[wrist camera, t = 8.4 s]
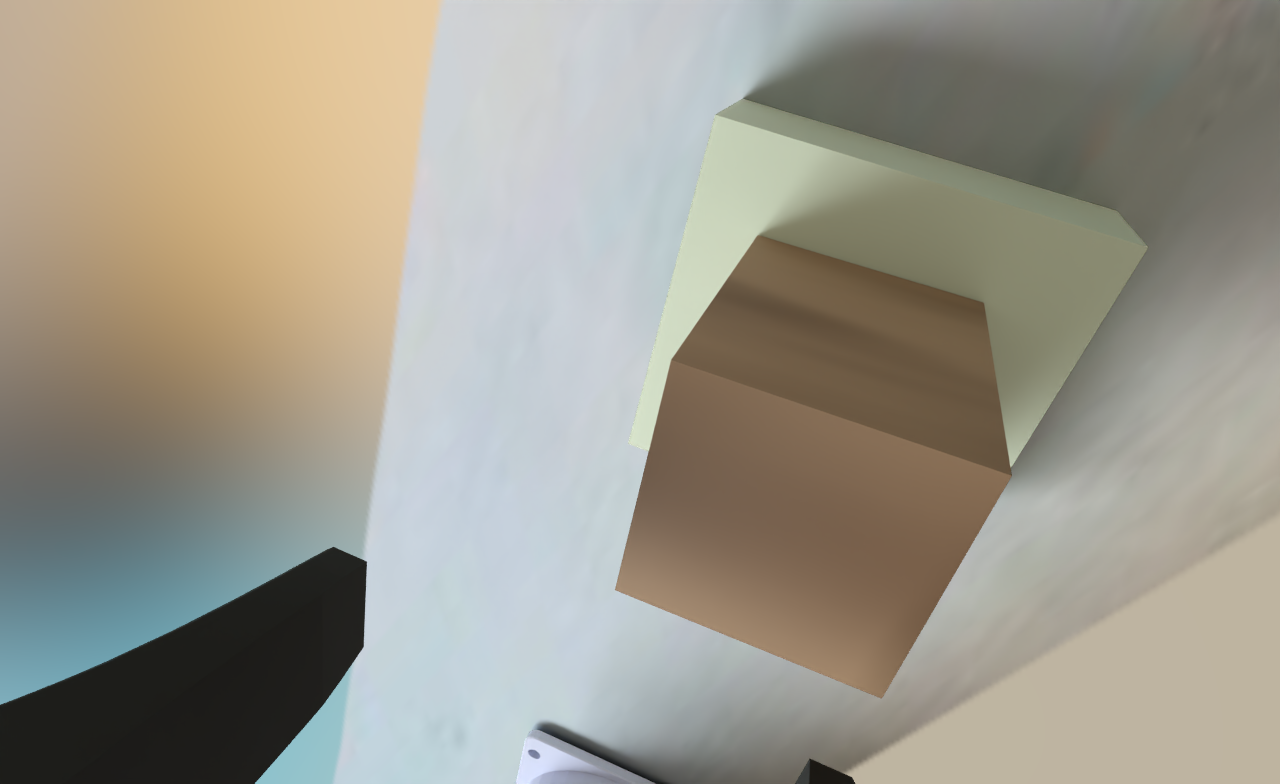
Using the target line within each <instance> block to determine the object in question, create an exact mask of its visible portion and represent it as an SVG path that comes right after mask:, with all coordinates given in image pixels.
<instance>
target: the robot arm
mask: <svg viewBox="0 0 1280 784" xmlns="http://www.w3.org/2000/svg"><path fill="white" fill-rule="evenodd" d="M366 570H367V562H366V561H364V560H362V559H360V558H357V557H355V556H353V555H350V554H348V553H346V552H344V551H341V550H339V549H337V548H335V547H332V548H330V549H327V550H325V551H324V552H322V553H320V554H318V555H316V556H314V557H312V558H310V559H309V560H307V561H305V562H303V563H301V564H299V565H298V566H296V567H294V568H292V569H290V570H288V571H287V572H285V573H283V574H281V575H279V576H277V577H275V578H274V579H272V580H270V581H268V582H266V583H264V584H262V585H261V586H259V587H257V588H255V589H253V590H251V591H249V592H247V593H246V594H244V595H242V596H240V597H238V598H236V599H234V600H232V601H231V602H228V603H226V604H224V605H222V606H221V607H219V608H217V609H215V610H213V611H211V612H209V613H207V614H205V615H203V616H201V617H199V618H197V619H195V620H193V621H191V622H189V623H187V624H185V625H183V626H181V627H179V628H177V629H175V630H173V631H171V632H169V633H167V634H165V635H163V636H160V637H158V638H156V639H154V640H152V641H150V642H147V643H145V644H143V645H141V646H139V647H137V648H135V649H132V650H131V651H128V652H126V653H124V654H122V655H119V656H117V657H115V658H113V659H111V660H109V661H107V662H104V663H102V664H100V665H97V666H95V667H93V668H90V669H88V670H86V671H84V672H81V673H79V674H77V675H74V676H72V677H69V678H67V679H65V680H62V681H60V682H57V683H55V684H53V685H50V686H47V687H45V688H42V689H40V690H37V691H35V692H32V693H30V694H27V695H25V696H22V697H20V698H17V699H14V700H12V701H9V702H7V703H4V704H1V705H0V784H255V782H256V781H257V780H258V779H259V778H260V777H261V776H262V775H263V773H264V772H265V771H266V770H267V769H268V768H269V767H270V765H271V764H272V763H273V762H274V761H275V760H276V759H277V758H278V756H279V755H280V754H281V753H282V752H283V751H284V750H285V748H286V747H287V746H288V745H289V744H290V743H291V742H292V740H293V739H294V738H295V737H296V736H297V735H298V733H299V732H300V731H301V730H302V729H303V728H304V727H305V725H306V724H307V723H308V722H309V721H310V720H311V719H312V717H313V716H314V715H315V714H316V713H317V712H318V710H319V709H320V708H321V707H322V706H323V704H324V703H325V702H326V700H327V699H328V697H329V696H330V695H331V693H332V692H333V690H334V689H335V688H336V686H337V685H338V683H339V682H340V681H341V679H342V678H343V676H344V675H345V673H346V672H347V671H348V669H349V668H350V666H351V665H352V663H353V662H354V660H355V659H356V657H357V656H358V654H359V653H360V651H361V650H362V649H363V647H364V621H365V596H366ZM516 784H656V783H653V782H651V781H649V780H647V779H645V778H642V777H640V776H638V775H636V774H634V773H632V772H629V771H627V770H625V769H623V768H621V767H619V766H616V765H614V764H612V763H610V762H608V761H605V760H603V759H601V758H599V757H597V756H595V755H592V754H590V753H588V752H586V751H584V750H581V749H579V748H577V747H575V746H573V745H571V744H568V743H566V742H564V741H562V740H560V739H557V738H555V737H553V736H551V735H549V734H547V733H544V732H542V731H539V730H532V731H530V732H529V734H528V735H527V737H526V739H525V742H524V747H523V752H522V756H521V761H520V766H519V770H518V775H517V780H516ZM795 784H855V782H854V780H853V778H852V777H850V776H848V775H845V774H843V773H841V772H839V771H836V770H834V769H832V768H830V767H827V766H825V765H823V764H821V763H818V762H816V761H814V760H812V759H809V761H808V763H807V764H806V766H805V768H804V770H803V771H802V773H801V775H800V776H799V778H798V780H797V781H796V783H795Z"/></svg>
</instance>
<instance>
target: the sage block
mask: <svg viewBox="0 0 1280 784" xmlns="http://www.w3.org/2000/svg"><path fill="white" fill-rule="evenodd" d="M757 235H759V236H763V237H766V238H769V239H773V240H776V241H779V242H783V243H786V244H789V245H793V246H796V247H799V248H803V249H806V250H809V251H813V252H816V253H820V254H823V255H826V256H830V257H833V258H836V259H840V260H843V261H846V262H850V263H853V264H856V265H860V266H863V267H866V268H870V269H873V270H876V271H880V272H883V273H886V274H890V275H893V276H896V277H900V278H903V279H906V280H910V281H913V282H916V283H920V284H923V285H926V286H930V287H933V288H936V289H940V290H943V291H946V292H950V293H953V294H956V295H960V296H963V297H966V298H970V299H973V300H976V301H980V302H983V303H984V306H985V312H986V318H987V325H988V331H989V337H990V343H991V349H992V356H993V362H994V368H995V374H996V381H997V387H998V393H999V399H1000V405H1001V412H1002V418H1003V424H1004V430H1005V436H1006V443H1007V449H1008V455H1009V461H1010V468H1011V467H1012V466H1013V464H1014V462H1015V461H1016V459H1017V458H1018V456H1019V454H1020V453H1021V451H1022V449H1023V448H1024V446H1025V445H1026V443H1027V441H1028V440H1029V438H1030V437H1031V435H1032V433H1033V432H1034V430H1035V429H1036V427H1037V425H1038V424H1039V422H1040V421H1041V419H1042V417H1043V416H1044V414H1045V413H1046V411H1047V409H1048V408H1049V406H1050V405H1051V403H1052V401H1053V400H1054V398H1055V397H1056V395H1057V393H1058V392H1059V390H1060V389H1061V387H1062V385H1063V384H1064V382H1065V381H1066V379H1067V377H1068V376H1069V374H1070V372H1071V371H1072V369H1073V368H1074V366H1075V364H1076V363H1077V361H1078V360H1079V358H1080V356H1081V355H1082V353H1083V352H1084V350H1085V348H1086V347H1087V345H1088V344H1089V342H1090V340H1091V339H1092V337H1093V336H1094V334H1095V332H1096V331H1097V329H1098V328H1099V326H1100V324H1101V323H1102V321H1103V320H1104V318H1105V316H1106V315H1107V313H1108V312H1109V310H1110V308H1111V307H1112V305H1113V304H1114V302H1115V300H1116V299H1117V297H1118V295H1119V294H1120V292H1121V291H1122V289H1123V287H1124V286H1125V284H1126V283H1127V281H1128V279H1129V278H1130V276H1131V275H1132V273H1133V271H1134V270H1135V268H1136V267H1137V265H1138V263H1139V262H1140V260H1141V259H1142V257H1143V255H1144V254H1145V252H1146V251H1147V249H1148V246H1147V245H1146V244H1145V243H1144V242H1143V241H1142V239H1141V238H1140V237H1139V236H1138V235H1137V234H1136V232H1135V231H1134V230H1133V229H1132V228H1131V227H1130V226H1129V224H1128V223H1127V222H1126V221H1125V220H1124V219H1123V217H1122V216H1121V215H1120V214H1119V213H1118V212H1117V211H1116V210H1113V209H1109V208H1106V207H1103V206H1099V205H1096V204H1093V203H1089V202H1086V201H1083V200H1079V199H1076V198H1073V197H1069V196H1066V195H1063V194H1059V193H1056V192H1053V191H1049V190H1046V189H1043V188H1039V187H1036V186H1033V185H1029V184H1026V183H1023V182H1019V181H1016V180H1013V179H1009V178H1006V177H1003V176H999V175H996V174H993V173H989V172H986V171H983V170H979V169H976V168H972V167H969V166H966V165H962V164H959V163H956V162H952V161H949V160H946V159H942V158H939V157H936V156H932V155H929V154H926V153H922V152H919V151H916V150H912V149H909V148H906V147H902V146H899V145H896V144H892V143H889V142H886V141H882V140H879V139H876V138H872V137H869V136H866V135H862V134H859V133H856V132H852V131H849V130H846V129H842V128H839V127H836V126H832V125H829V124H826V123H822V122H819V121H816V120H812V119H809V118H806V117H802V116H799V115H796V114H792V113H789V112H786V111H782V110H779V109H776V108H772V107H769V106H766V105H762V104H759V103H756V102H752V101H749V100H746V99H741V100H739V101H738V102H736V103H734V104H733V105H731V106H729V107H728V108H726V109H724V110H722V111H721V112H719V113H717V114H716V115H715V118H714V121H713V125H712V129H711V133H710V136H709V140H708V144H707V148H706V151H705V155H704V159H703V163H702V167H701V170H700V174H699V178H698V182H697V185H696V189H695V193H694V197H693V201H692V204H691V208H690V212H689V216H688V219H687V223H686V227H685V231H684V234H683V238H682V242H681V246H680V250H679V253H678V257H677V261H676V265H675V268H674V272H673V276H672V280H671V283H670V287H669V291H668V295H667V299H666V302H665V306H664V310H663V314H662V317H661V321H660V325H659V329H658V333H657V336H656V340H655V344H654V348H653V351H652V355H651V359H650V363H649V366H648V370H647V374H646V378H645V382H644V385H643V389H642V393H641V397H640V400H639V404H638V408H637V412H636V415H635V419H634V423H633V427H632V431H631V434H630V438H629V442H628V444H631V445H633V446H636V447H638V448H641V449H643V450H646V451H648V452H649V448H650V444H651V440H652V436H653V432H654V428H655V424H656V420H657V416H658V411H659V407H660V403H661V399H662V395H663V391H664V387H665V383H666V379H667V375H668V370H669V366H670V362H671V359H672V358H673V356H674V355H675V354H676V352H677V351H678V349H679V348H680V346H681V345H682V343H683V342H684V341H685V339H686V338H687V336H688V335H689V333H690V332H691V330H692V329H693V328H694V326H695V325H696V323H697V322H698V320H699V319H700V318H701V316H702V315H703V313H704V312H705V310H706V309H707V307H708V306H709V305H710V303H711V302H712V300H713V299H714V297H715V296H716V294H717V293H718V292H719V290H720V289H721V287H722V286H723V284H724V283H725V281H726V280H727V279H728V277H729V276H730V274H731V273H732V271H733V270H734V268H735V267H736V266H737V264H738V263H739V261H740V260H741V258H742V257H743V256H744V254H745V253H746V251H747V250H748V248H749V247H750V245H751V244H752V243H753V241H754V240H755V238H756V237H757Z"/></svg>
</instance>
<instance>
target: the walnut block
mask: <svg viewBox="0 0 1280 784" xmlns="http://www.w3.org/2000/svg"><path fill="white" fill-rule="evenodd" d="M1011 476H1012V474H1011V468H1010V461H1009V455H1008V449H1007V443H1006V436H1005V430H1004V424H1003V418H1002V412H1001V405H1000V399H999V393H998V387H997V381H996V374H995V368H994V362H993V356H992V349H991V343H990V337H989V331H988V325H987V318H986V312H985V306H984V303H983V302H980V301H976V300H973V299H970V298H966V297H963V296H960V295H956V294H953V293H950V292H946V291H943V290H940V289H936V288H933V287H930V286H926V285H923V284H920V283H916V282H913V281H910V280H906V279H903V278H900V277H896V276H893V275H890V274H886V273H883V272H880V271H876V270H873V269H870V268H866V267H863V266H860V265H856V264H853V263H850V262H846V261H843V260H840V259H836V258H833V257H830V256H826V255H823V254H820V253H816V252H813V251H809V250H806V249H803V248H799V247H796V246H793V245H789V244H786V243H783V242H779V241H776V240H773V239H769V238H766V237H763V236H759V235H757V237H756V238H755V240H754V241H753V243H752V244H751V245H750V247H749V248H748V250H747V251H746V253H745V254H744V256H743V257H742V258H741V260H740V261H739V263H738V264H737V266H736V267H735V268H734V270H733V271H732V273H731V274H730V276H729V277H728V279H727V280H726V281H725V283H724V284H723V286H722V287H721V289H720V290H719V292H718V293H717V294H716V296H715V297H714V299H713V300H712V302H711V303H710V305H709V306H708V307H707V309H706V310H705V312H704V313H703V315H702V316H701V318H700V319H699V320H698V322H697V323H696V325H695V326H694V328H693V329H692V330H691V332H690V333H689V335H688V336H687V338H686V339H685V341H684V342H683V343H682V345H681V346H680V348H679V349H678V351H677V352H676V354H675V355H674V356H673V358H672V359H671V362H670V366H669V370H668V375H667V379H666V383H665V387H664V391H663V395H662V399H661V403H660V407H659V411H658V416H657V420H656V424H655V428H654V432H653V436H652V440H651V444H650V448H649V453H648V457H647V461H646V465H645V469H644V473H643V477H642V481H641V485H640V489H639V494H638V498H637V502H636V506H635V510H634V514H633V518H632V522H631V526H630V531H629V535H628V539H627V543H626V547H625V551H624V555H623V559H622V563H621V567H620V572H619V576H618V580H617V584H616V588H615V590H616V591H619V592H621V593H624V594H626V595H629V596H631V597H633V598H636V599H638V600H641V601H643V602H646V603H648V604H651V605H653V606H656V607H658V608H661V609H663V610H665V611H668V612H670V613H673V614H675V615H678V616H680V617H683V618H685V619H688V620H690V621H692V622H695V623H697V624H700V625H702V626H705V627H707V628H710V629H712V630H715V631H717V632H719V633H722V634H724V635H727V636H729V637H732V638H734V639H737V640H739V641H742V642H744V643H747V644H749V645H751V646H754V647H756V648H759V649H761V650H764V651H766V652H769V653H771V654H774V655H776V656H778V657H781V658H783V659H786V660H788V661H791V662H793V663H796V664H798V665H801V666H803V667H805V668H808V669H810V670H813V671H815V672H818V673H820V674H823V675H825V676H828V677H830V678H832V679H835V680H837V681H840V682H842V683H845V684H847V685H850V686H852V687H855V688H857V689H860V690H862V691H864V692H867V693H869V694H872V695H874V696H877V697H879V698H882V697H883V696H884V694H885V692H886V690H887V689H888V687H889V685H890V684H891V682H892V680H893V678H894V677H895V675H896V673H897V672H898V670H899V668H900V666H901V665H902V663H903V661H904V660H905V658H906V656H907V654H908V653H909V651H910V649H911V648H912V646H913V644H914V642H915V641H916V639H917V637H918V636H919V634H920V632H921V630H922V629H923V627H924V625H925V624H926V622H927V620H928V618H929V617H930V615H931V613H932V612H933V610H934V608H935V606H936V605H937V603H938V601H939V600H940V598H941V596H942V594H943V593H944V591H945V589H946V588H947V586H948V584H949V582H950V581H951V579H952V577H953V576H954V574H955V572H956V570H957V569H958V567H959V565H960V564H961V562H962V560H963V558H964V557H965V555H966V553H967V552H968V550H969V548H970V546H971V545H972V543H973V541H974V540H975V538H976V536H977V534H978V533H979V531H980V529H981V528H982V526H983V524H984V522H985V521H986V519H987V517H988V516H989V514H990V512H991V511H992V509H993V507H994V505H995V504H996V502H997V500H998V499H999V497H1000V495H1001V493H1002V492H1003V490H1004V488H1005V487H1006V485H1007V483H1008V481H1009V480H1010V478H1011Z"/></svg>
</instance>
